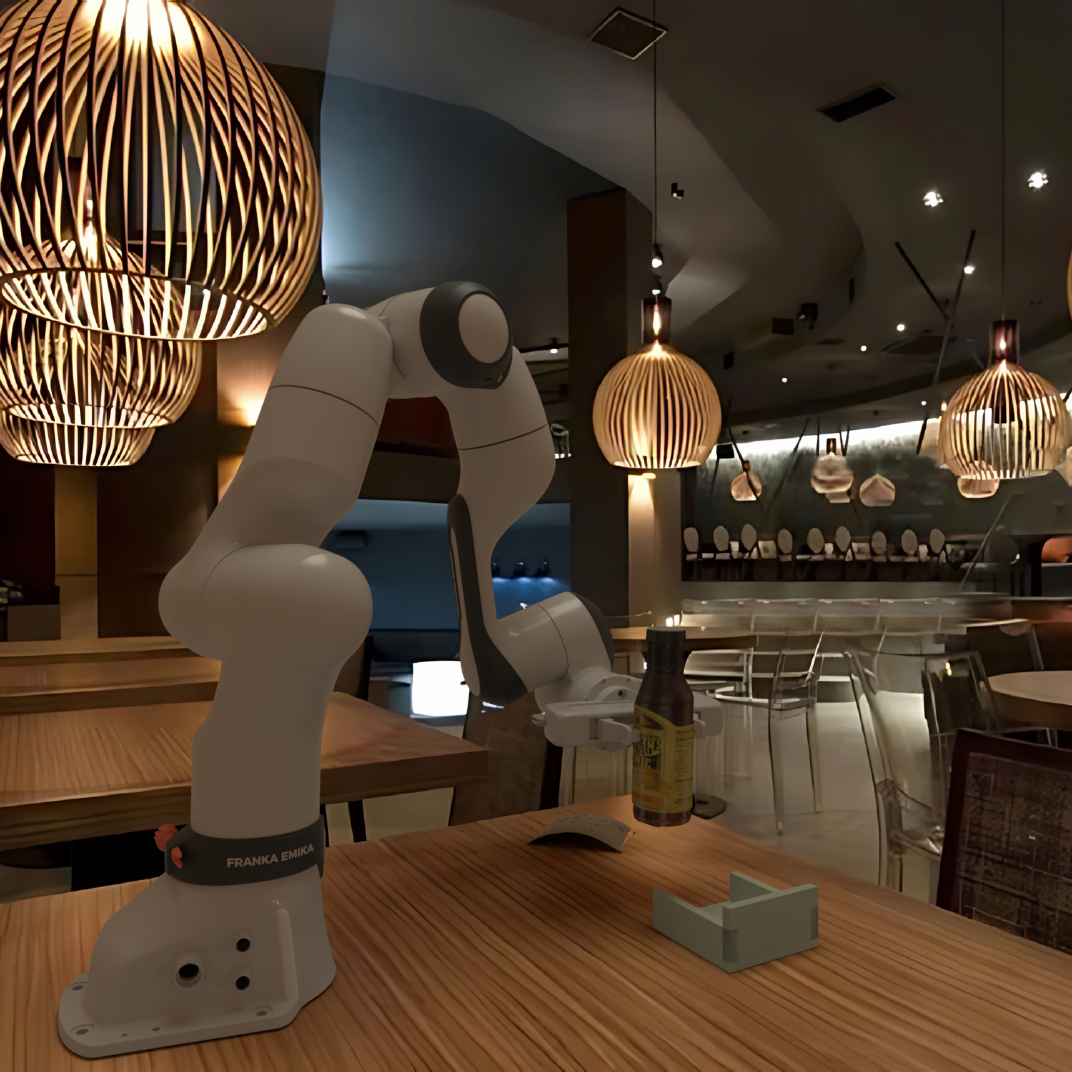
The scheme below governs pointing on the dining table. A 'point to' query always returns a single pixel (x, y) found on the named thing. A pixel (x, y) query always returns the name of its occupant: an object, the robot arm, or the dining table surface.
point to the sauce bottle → (663, 734)
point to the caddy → (742, 923)
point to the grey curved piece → (590, 828)
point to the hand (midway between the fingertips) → (667, 733)
